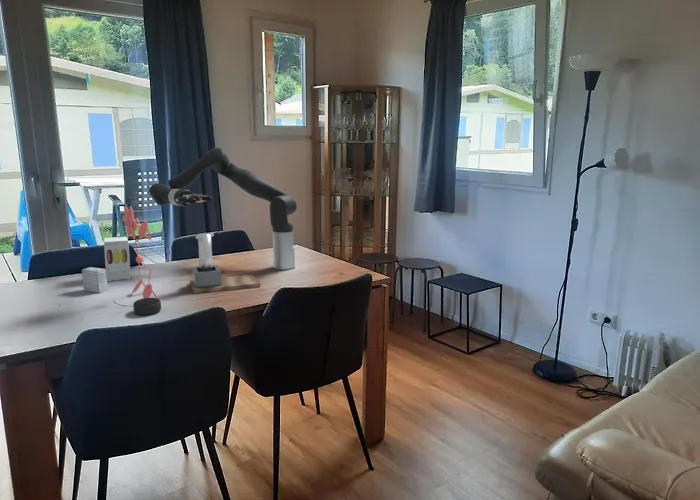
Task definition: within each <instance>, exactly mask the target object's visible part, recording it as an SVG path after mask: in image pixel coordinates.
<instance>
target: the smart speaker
mask: <svg viewBox="0 0 700 500" xmlns="http://www.w3.org/2000/svg"><path fill="white" fill-rule="evenodd" d="M132 307H133V313H134V314H135V315H138V316H151V315H154V314H157V313H159V312H160V311H161V310H162V301H161V300H160V299H159V298H156V297H149V298H143V297H142V298H140V299H137V300H135V301H134V302H133V305H132Z"/></svg>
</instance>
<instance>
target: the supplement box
mask: <svg viewBox="0 0 700 500" xmlns="http://www.w3.org/2000/svg"><path fill="white" fill-rule="evenodd" d="M128 238H129V237H128V236H121V237H120V236H119V237H118V236H114V237H104V238H103V239H104V240H103V244H104V245H103V248H104V249H103V250H104V263H105V269H106V277H107V282H110V281H109V280H115V281H120V280H119V279H127V280H130V279H129V278H131V279H132V276H131V261H130V260H131V258H130V248H129V247H130V246H129V240H128Z"/></svg>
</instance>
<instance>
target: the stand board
mask: <svg viewBox="0 0 700 500" xmlns="http://www.w3.org/2000/svg"><path fill="white" fill-rule="evenodd" d="M221 284H222V286H212V287H202V288H195V286H194V283H193V279H192V280H191V279H190V280H189V285H190V288H191V290H192V293H193V294H200V293H201V294H203V293H214V292H222V291H232V290H233V291H235V290H242V289H251V288H253V289H254V288H260V287H261V282H260V281H259V280H258V279H257V278H256V277H255V276H254V275H253V274H249V275H248V274H246V275H244V274H243V275H235V276H225V277H222V276H221Z"/></svg>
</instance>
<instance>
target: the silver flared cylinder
mask: <svg viewBox="0 0 700 500" xmlns="http://www.w3.org/2000/svg"><path fill="white" fill-rule="evenodd" d="M214 235H215V234H214V233H213V232H211V233H206V232H203V233H198V234H197V235H196V236H195V239H196V240H197V241H198V262H199V263H198V264H199V267H200V272H204V271H213V249H212V248H213V247H212V245H213V244H212V242H213V241H212V237H214Z"/></svg>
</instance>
